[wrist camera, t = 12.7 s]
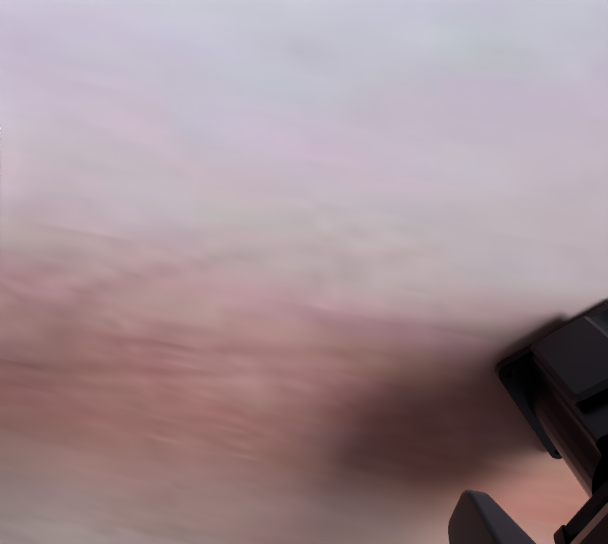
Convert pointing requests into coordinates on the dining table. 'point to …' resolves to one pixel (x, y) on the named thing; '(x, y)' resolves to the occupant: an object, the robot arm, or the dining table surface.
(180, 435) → the dining table surface
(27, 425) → the dining table surface
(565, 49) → the dining table surface
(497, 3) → the dining table surface
